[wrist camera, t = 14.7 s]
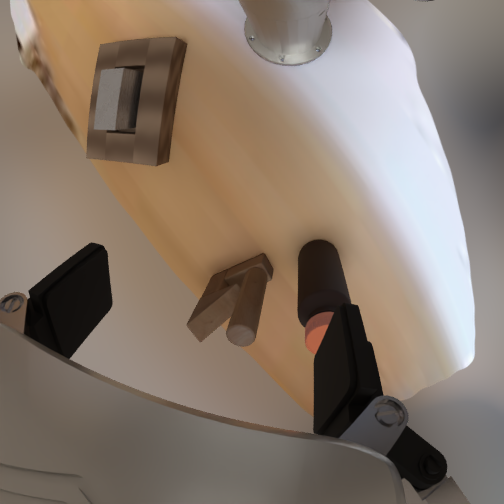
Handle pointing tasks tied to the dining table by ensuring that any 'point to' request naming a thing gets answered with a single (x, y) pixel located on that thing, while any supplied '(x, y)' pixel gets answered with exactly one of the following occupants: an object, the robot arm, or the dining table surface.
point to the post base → (140, 100)
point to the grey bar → (118, 99)
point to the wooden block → (233, 302)
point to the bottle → (319, 289)
